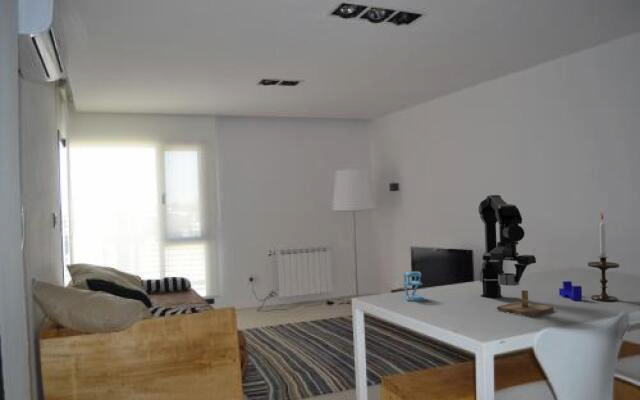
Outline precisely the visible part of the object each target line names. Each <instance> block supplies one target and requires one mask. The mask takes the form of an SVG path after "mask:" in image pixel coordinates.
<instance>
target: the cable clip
mask: <svg viewBox="0 0 640 400" xmlns="http://www.w3.org/2000/svg"><path fill="white" fill-rule="evenodd" d="M558 291H559V293H558V294H559V296H560V295H561V296H560V297H562V298H564V299H569V300H571V301H573V302H583V296H582V293H583V292H582V286H581V285H573V284H572V281H570V280H565V281H562V287H560V288H558Z"/></svg>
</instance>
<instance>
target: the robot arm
mask: <svg viewBox="0 0 640 400" xmlns="http://www.w3.org/2000/svg"><path fill="white" fill-rule="evenodd" d="M478 214H479V216H480V219H481V221H482V223H483V224H484V241H485V242H484V244H485V246H484V247H485V252H483V254H482V261H483V262H482V264H481V266H482V267H481V269H480V273H479V282H481V284H482V294H480V296H481V297H484V298H491V299H497V298H500V297H503V295H502V293H501V292H502V287H501V286H502V285H500V284H499V282H498V274H501V273H505V271H504V269H503V268H504V261H512V262H517V263H513V266H514V267H515V274H516V282H519V283H520V281H521V279H522V276H523V274H524V272H525V270H526V269H527V266H531V264H532V265H533V264H536V263H537V258H536V256H535V255H534V254H521V255H520V254H519V252H517V245H519V242H520V241H522V240H523V238H524V237H525V233H526V232H525V230H524V228H523V227H522V226H520V225H522V224H523V218H522V215H521V214H522V213H521V212H520V209H519V208H518V207H517V206H516V205H515V204H510V203H507V202H506V201H505V200H504V199H503V198H502V196H501V195H499V194H489V195H486V198H485V199H483V200H481V202H480V203H479V205H478ZM497 223H498V225H499V227H498V229H499V230H498V231H499V232H498V233H499V241H497Z"/></svg>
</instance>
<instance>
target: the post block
mask: <svg viewBox="0 0 640 400" xmlns="http://www.w3.org/2000/svg"><path fill="white" fill-rule="evenodd" d="M496 308H497V310H499V311H498V312H501V311H503V312H502V313H506V312H509V313H508V314H511V313H515V314H514V315H517V314H521V315H520V316H522V315H525V316H524V317H527V316H529V317H528V318H537V317H540V316H543V315H545V314H549V313H553V312H554V306H549V305H543V304H538V303H529V291H528V290H526V289H522V290H521V301H517V300H516V301H513V302H510V303H506V304H503V305H499V306H497V307H496Z"/></svg>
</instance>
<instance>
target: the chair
mask: <svg viewBox="0 0 640 400" xmlns="http://www.w3.org/2000/svg"><path fill="white" fill-rule="evenodd" d="M413 277H414V280H411V279H410V278H413ZM417 277H418V280H417ZM403 278H404V279H403V281H402V284H403V288H404V292H405V298H406V302H419V301H420V302H421V301H425V300H426V299H425V297H423V296H419V295H416V292H417V289H418V287H419V286H423V282H421V278H422V273H421V271H411V272H409V271H406V272H403ZM411 286H414V289H413V291H412V293H411V298H409V293H408V292H409V291H408V288H407V287H411Z"/></svg>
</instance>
